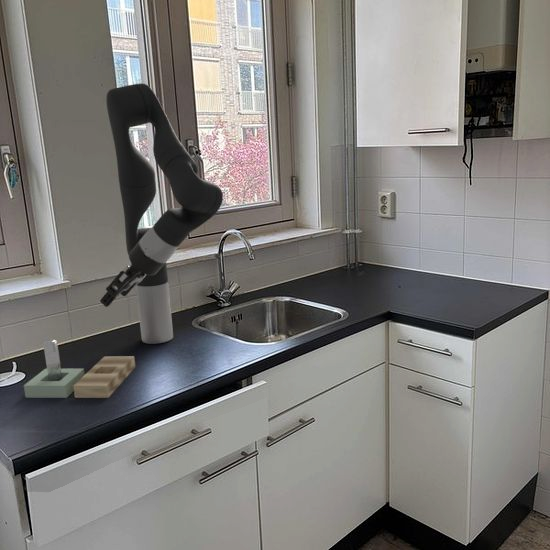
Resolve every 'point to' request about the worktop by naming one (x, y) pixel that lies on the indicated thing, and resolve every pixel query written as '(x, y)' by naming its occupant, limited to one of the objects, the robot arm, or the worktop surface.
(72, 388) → the holder block
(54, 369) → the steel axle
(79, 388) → the notched wooden block
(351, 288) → the worktop surface
